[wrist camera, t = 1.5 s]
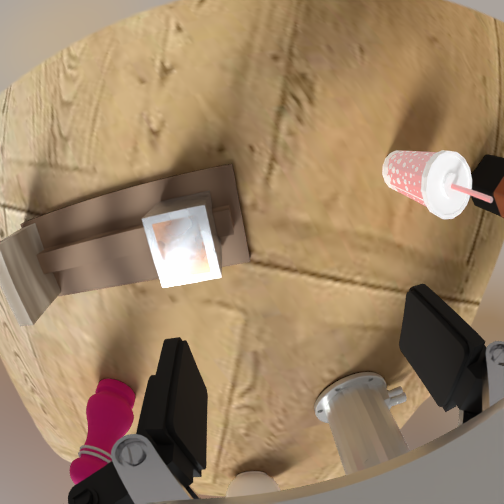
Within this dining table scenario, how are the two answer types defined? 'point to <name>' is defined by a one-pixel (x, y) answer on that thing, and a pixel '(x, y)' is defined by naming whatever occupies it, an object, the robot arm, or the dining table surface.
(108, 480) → the robot arm
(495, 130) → the dining table surface
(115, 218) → the rail
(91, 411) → the pepper mill
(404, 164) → the beverage cup
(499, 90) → the dining table surface
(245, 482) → the lidded bowl
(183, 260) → the block
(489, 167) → the battery
